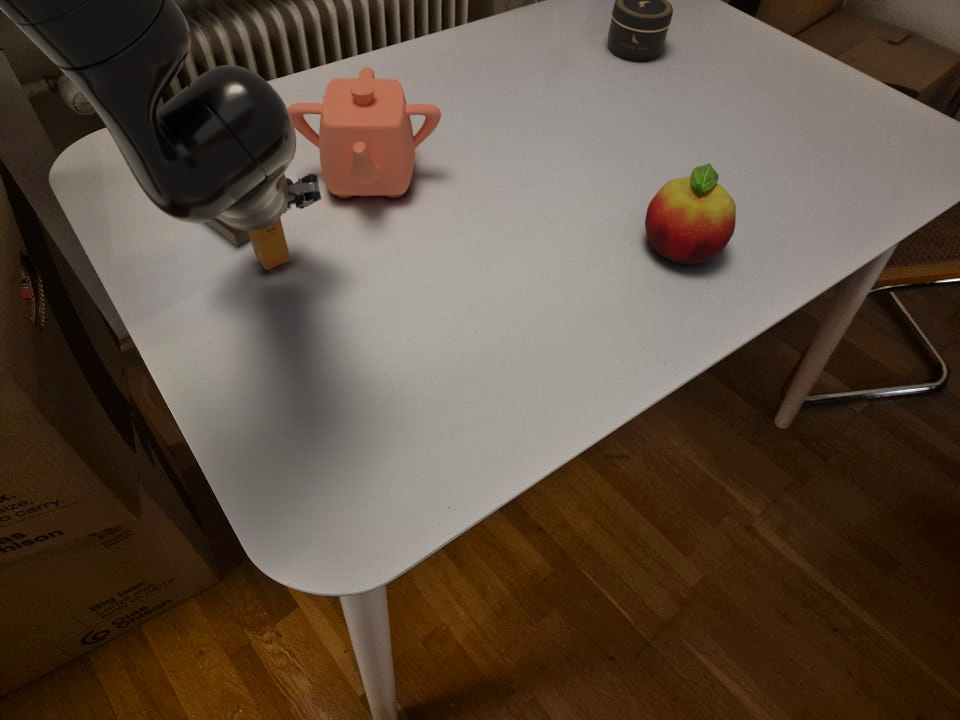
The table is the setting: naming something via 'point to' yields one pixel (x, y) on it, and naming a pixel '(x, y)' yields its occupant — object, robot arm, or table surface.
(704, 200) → the fruit
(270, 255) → the supplement box
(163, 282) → the table surface
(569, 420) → the table surface
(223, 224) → the walnut stick
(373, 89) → the teapot
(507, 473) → the table surface
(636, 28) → the jar
